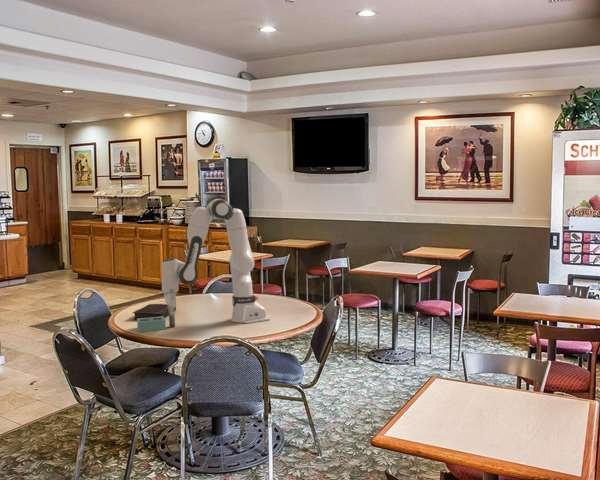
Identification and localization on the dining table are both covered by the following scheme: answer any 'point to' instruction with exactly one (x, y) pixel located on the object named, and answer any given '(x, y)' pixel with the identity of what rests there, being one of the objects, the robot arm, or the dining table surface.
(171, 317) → the peg
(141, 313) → the diary
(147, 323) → the hole block
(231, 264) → the robot arm
